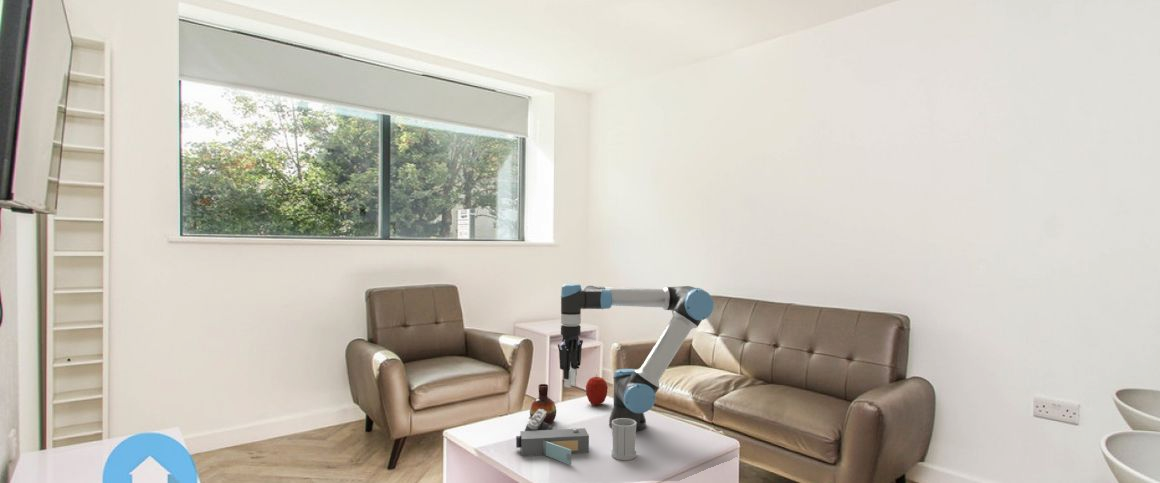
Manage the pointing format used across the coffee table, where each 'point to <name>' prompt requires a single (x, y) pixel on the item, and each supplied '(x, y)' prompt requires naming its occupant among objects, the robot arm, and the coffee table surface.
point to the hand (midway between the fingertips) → (570, 386)
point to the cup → (623, 438)
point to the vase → (544, 404)
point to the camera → (538, 422)
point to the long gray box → (553, 440)
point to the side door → (557, 452)
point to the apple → (596, 390)
